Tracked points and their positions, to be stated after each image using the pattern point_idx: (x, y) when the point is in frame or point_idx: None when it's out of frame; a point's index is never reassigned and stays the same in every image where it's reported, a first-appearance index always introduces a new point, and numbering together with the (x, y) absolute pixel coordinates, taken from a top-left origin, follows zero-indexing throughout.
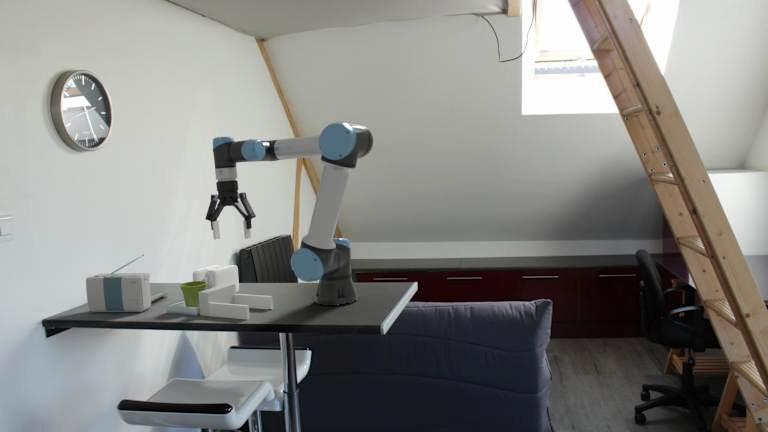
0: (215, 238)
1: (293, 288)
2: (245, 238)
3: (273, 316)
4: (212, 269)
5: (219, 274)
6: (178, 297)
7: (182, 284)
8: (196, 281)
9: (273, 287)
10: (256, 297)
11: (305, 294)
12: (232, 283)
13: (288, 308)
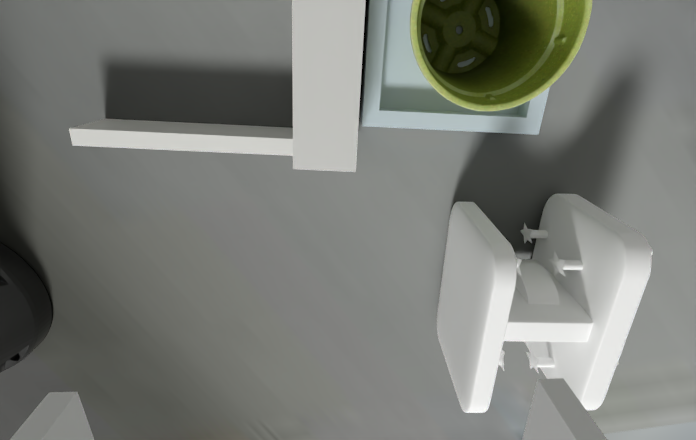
0: (543, 389)
1: (268, 412)
2: (61, 393)
3: (3, 13)
4: (580, 353)
5: (478, 277)
6: (668, 215)
7: (582, 2)
8: (524, 96)
9: (352, 412)
10: (160, 131)
11: (161, 352)
12: (448, 321)
13: (55, 156)
